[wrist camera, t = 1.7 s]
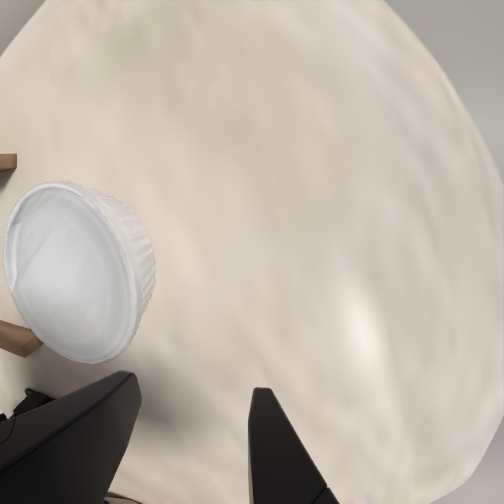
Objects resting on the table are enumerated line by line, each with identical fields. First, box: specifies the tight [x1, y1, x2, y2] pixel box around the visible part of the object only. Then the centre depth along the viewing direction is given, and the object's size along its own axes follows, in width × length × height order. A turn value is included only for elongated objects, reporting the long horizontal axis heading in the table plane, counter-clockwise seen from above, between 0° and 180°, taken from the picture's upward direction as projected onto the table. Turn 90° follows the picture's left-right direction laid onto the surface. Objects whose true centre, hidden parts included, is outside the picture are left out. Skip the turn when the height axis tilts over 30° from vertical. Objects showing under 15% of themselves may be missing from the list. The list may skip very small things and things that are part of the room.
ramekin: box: [4, 181, 156, 364], centre depth 17 cm, size 11×11×5 cm
